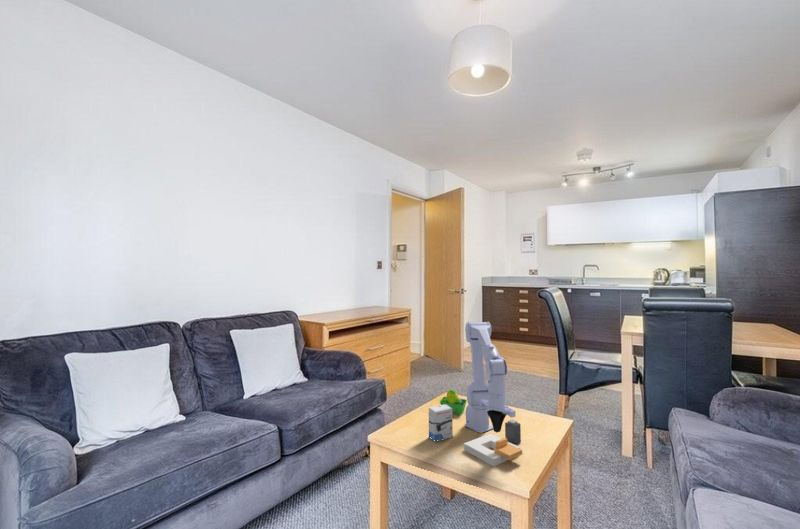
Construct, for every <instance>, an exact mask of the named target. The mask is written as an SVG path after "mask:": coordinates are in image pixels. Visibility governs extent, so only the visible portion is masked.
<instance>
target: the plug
mask: <svg viewBox="0 0 800 529" xmlns="http://www.w3.org/2000/svg"><path fill="white" fill-rule="evenodd" d="M504 428H505V429H504V430H505V431H504V432H505V434H504V435H505V437H504V438H507V441H508V442H510V443H512V444H514V445H517V444H520V443H521V442H522V440H521V439H522V437H521V435H522V434H521V430H522V429H521V428H522V427H521V423H519V422H518V420H515V419H510V420H507V422H504Z"/></svg>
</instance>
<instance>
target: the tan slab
mask: <svg viewBox="0 0 800 529" xmlns="http://www.w3.org/2000/svg"><path fill="white" fill-rule="evenodd" d="M493 450H494V452H495V453H497V454H499V455H500V456H502V457H504V458H506V459H508V460H507V461H510V460H513V459H516V458H517V457H520V456H522V455H523V449H521V448H520V449H519V448H517V447H515V446H513V445H510V444H508V443H507V438H505V437H504V438H501V440H498V441H496V447H495V448H493Z"/></svg>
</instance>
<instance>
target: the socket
mask: <svg viewBox="0 0 800 529" xmlns="http://www.w3.org/2000/svg"><path fill="white" fill-rule="evenodd" d="M501 439H502V438H501V437H499V436H497V435H494V434H492V433H488V434H485V435H483V436H480V437H478V438H475V439H472V440H469V441H466V442H464V443H463V451H464V450H465V452H466V451H467V452H466V453H468V452H469V453H468V454H470V455H472V456H473V455H474V456H473V457H475V456H476V457H475V458H477V457H478V458H477V459H479V460H480V461H483V462H485V463H487V464H488V465H490V466H492V467H497V466H498V465H500V464H503V463H505V462H507V461H509V460H508V459H506V458H504V457H502V456H500V455H499V454H497V453H495V452H494V448H495V447H496V441H498V440H501ZM507 443H508V444H510V445H513V446H515V447H517V448H519V449H521V447H520V446H518V445H517V444H515V445H514V444H512V443H510V442H508V441H507ZM490 448H492V449H493V450H492V449H490Z"/></svg>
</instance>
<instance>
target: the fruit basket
mask: <svg viewBox="0 0 800 529" xmlns="http://www.w3.org/2000/svg"><path fill="white" fill-rule="evenodd" d="M439 404H440V405H444V404H446V405H448V406H449V407H451V408H452V414H453V413H457V414H456V415H460V414H461V415H463V413H464V412H465V410H466V404H467V399H465V398H463V399H462V398H459V395H458V393H457V392H456V391H455V390H454V389H452V388H450V389H448V390H447V392H446V396H443V397H442V398H441V399H440V400H439Z"/></svg>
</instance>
